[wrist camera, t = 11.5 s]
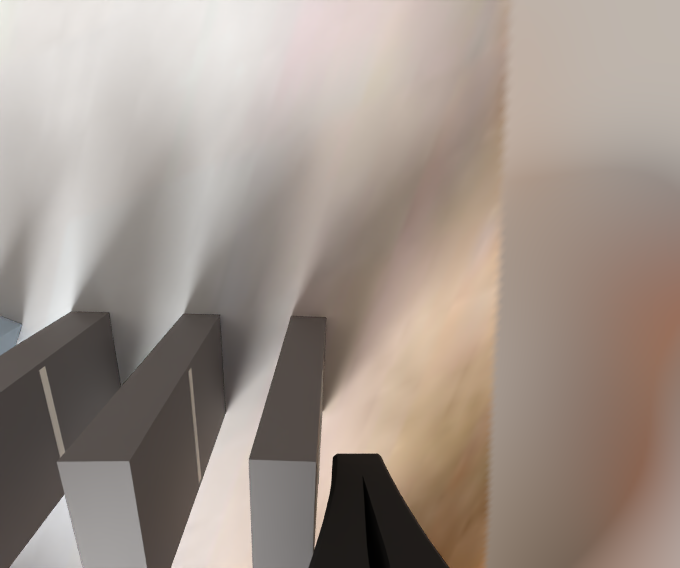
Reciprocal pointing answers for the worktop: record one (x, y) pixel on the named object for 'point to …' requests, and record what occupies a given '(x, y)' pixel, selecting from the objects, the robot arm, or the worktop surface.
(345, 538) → the robot arm
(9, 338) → the tile
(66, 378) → the tile
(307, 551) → the tile
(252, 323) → the worktop surface
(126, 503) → the tile
